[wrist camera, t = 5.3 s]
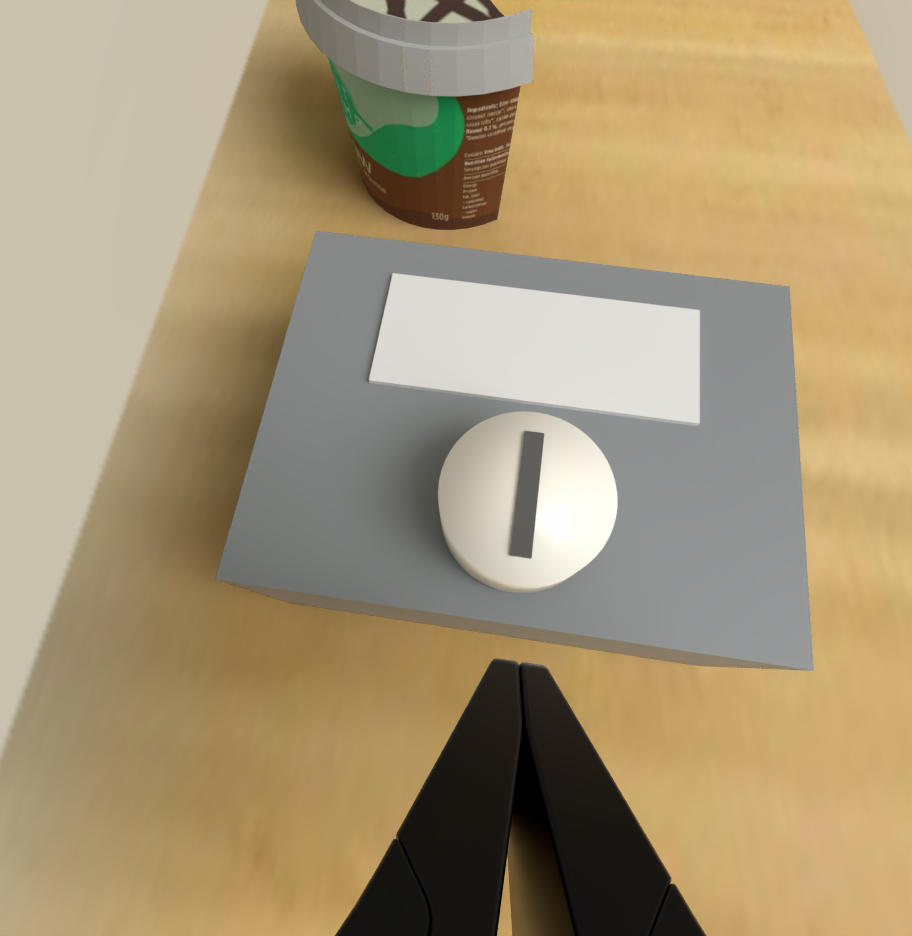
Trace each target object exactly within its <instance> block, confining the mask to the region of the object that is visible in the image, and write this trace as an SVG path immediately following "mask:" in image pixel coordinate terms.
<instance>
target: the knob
mask: <svg viewBox="0 0 912 936" xmlns="http://www.w3.org/2000/svg"><path fill="white" fill-rule="evenodd" d="M438 504H439V512H440V519H441V526H442V531H443V535H444V538H445V541H446V543H447V546H448V548H449V550H450V552H451V553H452V555H453V556H454V558H455V559H456V561H457V562H458V563H459V564H460V566H461V567H462V568H463V569H464V570H465V571H466V572H468V573H469V574H470V575H471V576H472V577H474V578H475V579H477V580H478V581H480V582H481V583H483V584H485V585H487V586H489V587H492V588H495V589H498V590H501V591H506V592H511V593H533V592H538V591H543V590H546V589H549V588H552V587H554V586H556V585H558V584H560V583H562V582H563V581H565V580H566V579H568V578H569V577H571V576H572V575H573V574H575V573H576V572H578V571H579V570H581V569H582V568H583V567H585V566H586V565H587V564H588V563H590V562H591V561H592V560H593V559H594V558H595V557H596V556H597V555H598V553H599V552H600V551H601V550H602V549H603V547H604V545H605V544H606V542H607V540H608V539H609V537H610V534H611V532H612V530H613V527H614V523H615V519H616V514H617V506H618V503H617V489H616V483H615V479H614V476H613V472H612V470H611V468H610V465H609V463H608V461H607V459H606V458H605V456H604V454H603V453H602V451H601V450H600V449H599V448H598V446H597V445H596V444H595V443H594V442H593V441H592V440H591V439H590V438H589V437H588V436H587V435H586V434H585V433H584V432H582V431H581V430H580V429H578V428H577V427H575V426H574V425H572V424H570V423H569V422H566V421H564V420H562V419H560V418H557V417H554V416H551V415H548V414H543V413H538V412H527V411H522V412H510V413H505V414H501V415H497V416H494V417H491V418H489V419H487V420H484V421H482V422H481V423H479V424H477V425H476V426H474V427H473V428H471V429H470V430H469V431H467V432H466V433H465V434H464V435H463V436H462V437H461V438H460V439H459V440H458V441H457V442H456V444H455V445H454V446H453V448H452V449H451V451H450V452H449V454H448V456H447V458H446V460H445V462H444V465H443V467H442V470H441V474H440V478H439V486H438Z"/></svg>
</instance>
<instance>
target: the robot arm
mask: <svg viewBox="0 0 912 936" xmlns="http://www.w3.org/2000/svg"><path fill="white" fill-rule="evenodd" d="M507 853H508V869H509V886H510V903H511V919H512V936H706V934H705V933H704V931H703V930H702V928H701V926H700V925H699V923H698V922H697V920H696V918H695V917H694V915H693V913H692V912H691V910H690V908H689V907H688V905H687V903H686V901H685V900H684V898H683V896H682V895H681V893H680V891H679V890H678V888H677V886H676V885H675V884H670V883H671V876H670V875H669V873H668V871H667V870H666V868H665V866H664V865H663V863H662V861H661V860H660V858H659V856H658V854H657V853H656V851H655V849H654V848H653V846H652V844H651V843H650V841H649V839H648V838H647V836H646V834H645V833H644V831H643V829H642V827H641V826H640V824H639V822H638V821H637V819H636V817H635V816H634V814H633V812H632V811H631V809H630V807H629V805H628V804H627V802H626V800H625V799H624V797H623V795H622V794H621V792H620V790H619V789H618V787H617V785H616V784H615V782H614V780H613V778H612V777H611V775H610V773H609V772H608V770H607V768H606V767H605V765H604V763H603V762H602V760H601V758H600V756H599V755H598V753H597V751H596V750H595V748H594V746H593V745H592V743H591V741H590V740H589V738H588V736H587V735H586V733H585V731H584V729H583V728H582V726H581V724H580V723H579V721H578V719H577V718H576V716H575V714H574V713H573V711H572V709H571V708H570V706H569V704H568V702H567V701H566V699H565V697H564V696H563V694H562V692H561V691H560V689H559V687H558V686H557V684H556V682H555V680H554V679H553V677H552V675H551V674H550V672H549V670H548V669H547V668H546V667H545V666H543V665H538V664H531V663H521V664H520V665H518V663H517V662H516V661H511V660H504V659H494V660H492V662H491V663H490V665H489V667H488V669H487V670H486V672H485V674H484V676H483V678H482V680H481V681H480V683H479V685H478V687H477V689H476V690H475V692H474V694H473V696H472V698H471V700H470V701H469V703H468V705H467V707H466V709H465V710H464V712H463V714H462V716H461V718H460V720H459V721H458V723H457V725H456V727H455V729H454V730H453V732H452V734H451V736H450V738H449V740H448V741H447V743H446V745H445V747H444V749H443V750H442V752H441V754H440V756H439V758H438V760H437V761H436V763H435V765H434V767H433V769H432V770H431V772H430V774H429V776H428V778H427V780H426V781H425V783H424V785H423V787H422V789H421V790H420V792H419V794H418V796H417V798H416V800H415V801H414V803H413V805H412V807H411V809H410V810H409V812H408V814H407V816H406V818H405V820H404V821H403V823H402V825H401V827H400V829H399V830H398V832H397V834H396V839H394V840H393V841H392V842H391V844H390V846H389V848H388V850H387V851H386V853H385V855H384V857H383V859H382V861H381V862H380V864H379V866H378V868H377V869H376V871H375V873H374V874H373V876H372V878H371V879H370V881H369V883H368V885H367V886H366V888H365V890H364V891H363V893H362V895H361V896H360V898H359V900H358V901H357V903H356V905H355V906H354V908H353V909H352V911H351V912H350V914H349V915H348V917H347V918H346V920H345V921H344V923H343V924H342V926H341V927H340V929H339V930H338V932H337V933H336V935H335V936H497V930H498V923H499V915H500V907H501V899H502V891H503V884H504V876H505V868H506V860H507ZM669 885H670V886H669Z"/></svg>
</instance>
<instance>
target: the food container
mask: <svg viewBox="0 0 912 936" xmlns="http://www.w3.org/2000/svg"><path fill="white" fill-rule="evenodd" d="M296 6H297V9H298V13H299V17H300V20H301V23H302V25H303V27H304V28H305V30H306V32H307V34H308V36H309V37H310V39H311V40H312V41H313V42H314V43H315V45H316V46H317V47H318V48H319V49H320V51H321V52H322V53H324V54H325V55H326V56H327V57H328V58H329V62H330V65H331V69H332V72H333V76H334V79H335V83H336V86H337V90H338V93H339V97H340V100H341V104H342V107H343V110H344V114H345V117H346V121H347V124H348V128H349V131H350V135H351V138H352V142H353V145H354V149H355V152H356V156H357V159H358V163H359V166H360V170H361V173H362V176H363V180H364V183H365V186H366V188H367V190H368V191H369V193H370V195H371V196H372V197H373V199H374V200H375V201H376V202H377V204H379V205H380V206H381V207H382V208H383V209H384V210H385V211H387V212H388V213H390V214H391V215H393V216H395V217H396V218H398V219H400V220H403V221H405V222H407V223H410V224H413V225H417V226H420V227H424V228H431V229H439V230H455V229H465V228H471V227H475V226H479V225H483V224H486V223H488V222H491V221H494V220H496V219H497V218H498V212H499V206H500V200H501V195H502V189H503V183H504V178H505V172H506V166H507V160H508V155H509V149H510V143H511V137H512V132H513V126H514V120H515V115H516V109H517V103H518V97H519V92H520V86H521V85H524V84H527V83H530V82H533V44H534V36H533V35H532V34H531V33H530V29H531V17H532V10H531V9H529V10H526V11H522V12H519V13H516V14H513V15H509V16H504V15H503V14H501V13H500V12H499V10H498V9H497V8H496V7H495V6H494V4H493V3H492V2H491V1H490V0H296Z"/></svg>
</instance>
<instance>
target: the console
mask: <svg viewBox="0 0 912 936" xmlns="http://www.w3.org/2000/svg"><path fill="white" fill-rule="evenodd" d="M522 411H527V412H538V413H543V414H548V415H551V416H554V417H557V418H560V419H562V420H564V421H566V422H569V423H570V424H572V425H574V426H575V427H577V428H578V429H580V430H581V431H582V432H584V433H585V434H586V435H587V436H588V437H589V438H590V439H591V440H592V441H593V442H594V443H595V444H596V445H597V446H598V448H599V449H600V450H601V451H602V453H603V454H604V456H605V458H606V459H607V461H608V463H609V465H610V468H611V470H612V472H613V476H614V479H615V483H616V489H617V503H618V506H617V514H616V519H615V523H614V527H613V530H612V532H611V534H610V537H609V539H608V540H607V542H606V544H605V545H604V547H603V549H602V550H601V551H600V552H599V553H598V555H597V556H596V557H595V558H594V559H593V560H592V561H591V562H590V563H588V564H587V565H586V566H585V567H583V568H582V569H581V570H579V571H578V572H576V573H575V574H573V575H572V576H571V577H569V578H568V579H566V580H565V581H563V582H562V583H560V584H558V585H556V586H554V587H552V588H549V589H546V590H543V591H538V592H533V593H511V592H506V591H501V590H498V589H495V588H492V587H489V586H487V585H485V584H483V583H481V582H480V581H478V580H477V579H475V578H474V577H472V576H471V575H470V574H469V573H468V572H466V571H465V570H464V569H463V568H462V567H461V566H460V564H459V563H458V562H457V561H456V559H455V558H454V556H453V555H452V553H451V552H450V550H449V548H448V546H447V543H446V541H445V538H444V535H443V531H442V526H441V519H440V512H439V504H438V486H439V478H440V474H441V470H442V467H443V465H444V462H445V460H446V458H447V456H448V454H449V452H450V451H451V449H452V448H453V446H454V445H455V444H456V442H457V441H458V440H459V439H460V438H461V437H462V436H463V435H464V434H465V433H466V432H467V431H469V430H470V429H471V428H473V427H474V426H476V425H477V424H479V423H481V422H482V421H484V420H487V419H489V418H491V417H494V416H497V415H501V414H505V413H510V412H522ZM215 579H216V580H219V581H222V582H226V583H229V584H232V585H235V586H238V587H241V588H245V589H248V590H251V591H254V592H257V593H260V594H264V595H267V596H270V597H273V598H276V599H279V600H283V601H286V602H289V603H294V604H301V605H307V606H314V607H320V608H327V609H333V610H340V611H346V612H353V613H359V614H366V615H372V616H379V617H385V618H392V619H398V620H405V621H411V622H418V623H424V624H431V625H437V626H444V627H450V628H457V629H463V630H470V631H476V632H483V633H489V634H496V635H502V636H509V637H515V638H522V639H528V640H535V641H541V642H548V643H554V644H561V645H567V646H574V647H580V648H587V649H593V650H600V651H606V652H612V653H619V654H625V655H632V656H638V657H645V658H651V659H658V660H664V661H671V662H677V663H684V664H690V665H697V666H713V667H737V668H761V669H786V670H810V671H813V655H812V639H811V623H810V607H809V591H808V575H807V559H806V543H805V527H804V511H803V495H802V479H801V463H800V447H799V431H798V415H797V399H796V383H795V367H794V351H793V335H792V319H791V303H790V287H789V286H780V285H772V284H763V283H755V282H746V281H738V280H729V279H721V278H712V277H704V276H695V275H687V274H678V273H670V272H661V271H653V270H644V269H636V268H627V267H619V266H610V265H601V264H593V263H584V262H576V261H567V260H559V259H550V258H542V257H533V256H525V255H516V254H508V253H499V252H491V251H482V250H474V249H465V248H457V247H448V246H439V245H431V244H422V243H414V242H405V241H397V240H388V239H380V238H371V237H363V236H354V235H346V234H337V233H329V232H320V231H316V233H315V236H314V240H313V243H312V246H311V250H310V253H309V257H308V260H307V264H306V267H305V271H304V274H303V278H302V281H301V284H300V288H299V291H298V295H297V298H296V302H295V305H294V309H293V312H292V316H291V319H290V323H289V326H288V329H287V333H286V336H285V340H284V343H283V347H282V350H281V354H280V357H279V361H278V364H277V367H276V371H275V374H274V378H273V381H272V385H271V388H270V392H269V395H268V399H267V402H266V406H265V409H264V412H263V416H262V419H261V423H260V426H259V430H258V433H257V437H256V440H255V444H254V447H253V450H252V454H251V457H250V461H249V464H248V468H247V471H246V475H245V478H244V482H243V485H242V489H241V492H240V495H239V499H238V502H237V506H236V509H235V513H234V516H233V520H232V523H231V527H230V530H229V533H228V537H227V540H226V544H225V547H224V551H223V554H222V558H221V561H220V565H219V568H218V572H217V575H216V578H215Z"/></svg>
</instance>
